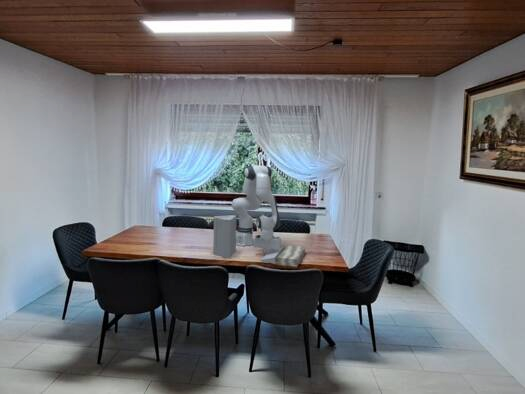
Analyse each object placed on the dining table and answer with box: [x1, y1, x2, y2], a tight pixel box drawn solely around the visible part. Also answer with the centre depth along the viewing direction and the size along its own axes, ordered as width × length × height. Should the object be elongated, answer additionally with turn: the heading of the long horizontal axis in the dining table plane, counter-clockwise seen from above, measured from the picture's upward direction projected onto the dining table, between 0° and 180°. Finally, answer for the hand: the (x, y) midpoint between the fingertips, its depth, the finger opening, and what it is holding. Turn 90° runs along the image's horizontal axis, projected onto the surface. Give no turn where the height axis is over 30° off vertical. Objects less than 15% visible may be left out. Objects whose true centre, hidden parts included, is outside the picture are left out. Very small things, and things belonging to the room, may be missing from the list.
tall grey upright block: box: [212, 214, 237, 259], centre depth 272 cm, size 19×15×28 cm
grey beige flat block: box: [276, 244, 306, 268], centre depth 266 cm, size 14×36×5 cm, turn 165°
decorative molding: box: [260, 245, 286, 265], centre depth 270 cm, size 34×5×10 cm
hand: (266, 253), depth 271 cm, fingers closed
